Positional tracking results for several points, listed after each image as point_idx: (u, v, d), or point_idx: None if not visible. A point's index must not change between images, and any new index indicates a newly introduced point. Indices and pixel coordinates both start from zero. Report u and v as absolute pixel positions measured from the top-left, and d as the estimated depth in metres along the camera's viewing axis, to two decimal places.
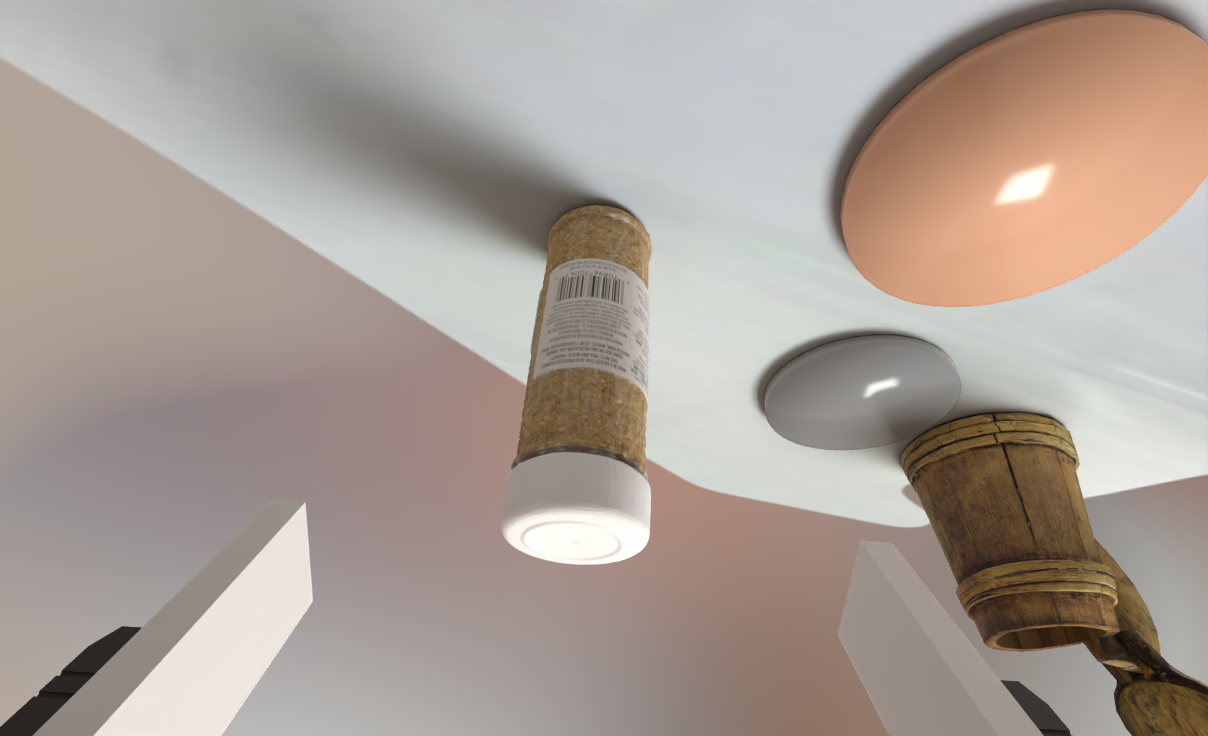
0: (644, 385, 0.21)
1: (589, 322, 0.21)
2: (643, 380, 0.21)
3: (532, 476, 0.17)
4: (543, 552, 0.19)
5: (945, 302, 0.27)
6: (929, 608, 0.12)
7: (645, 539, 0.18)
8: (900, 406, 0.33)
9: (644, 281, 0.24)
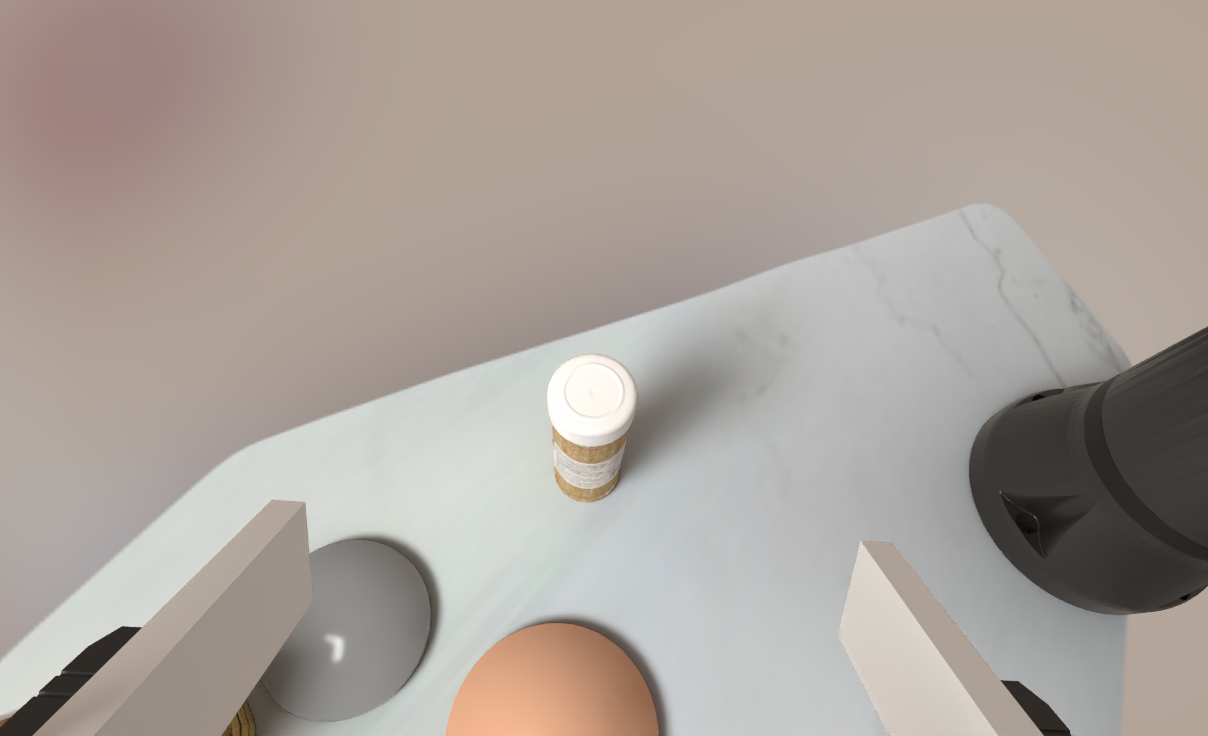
0: (591, 466, 0.34)
1: (623, 451, 0.36)
2: (593, 466, 0.34)
3: None
4: (582, 368, 0.31)
5: (460, 697, 0.35)
6: (929, 608, 0.12)
7: (581, 431, 0.29)
8: (323, 664, 0.35)
9: (589, 489, 0.38)
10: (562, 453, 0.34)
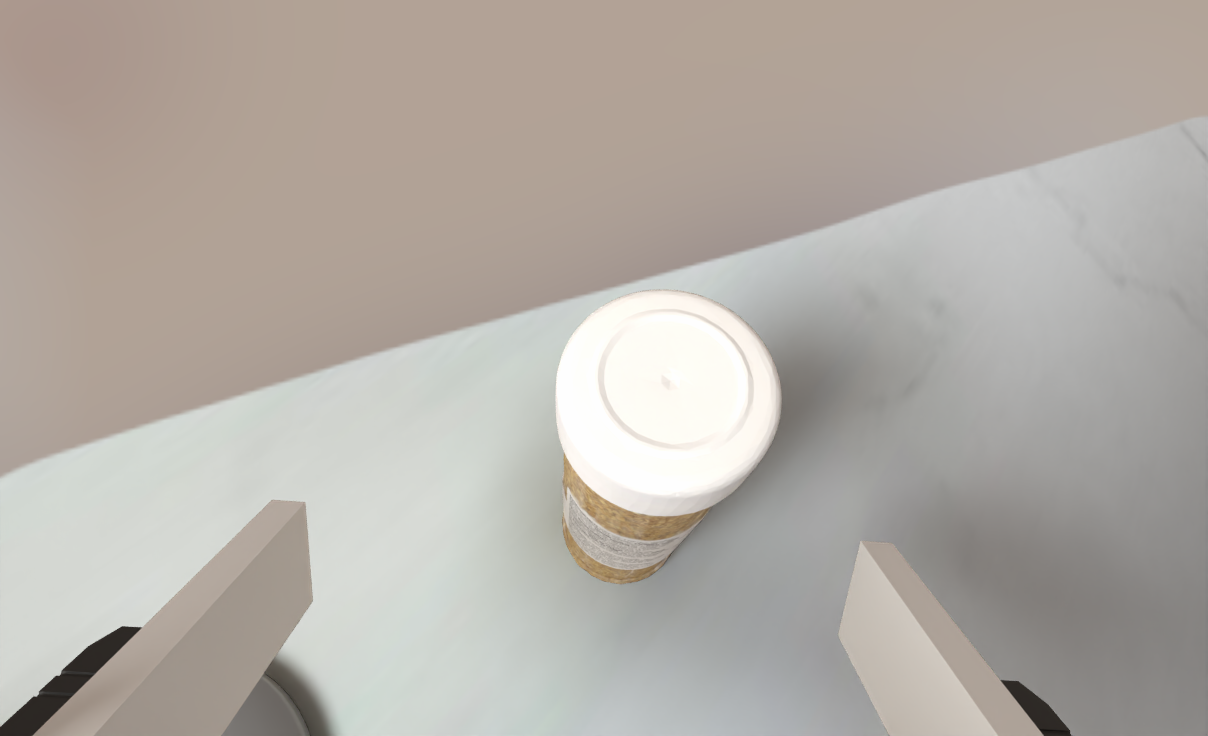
0: (646, 543, 0.16)
1: None
2: (650, 544, 0.16)
3: None
4: (643, 322, 0.12)
5: None
6: (929, 608, 0.12)
7: (646, 484, 0.11)
8: None
9: None
10: (584, 514, 0.16)
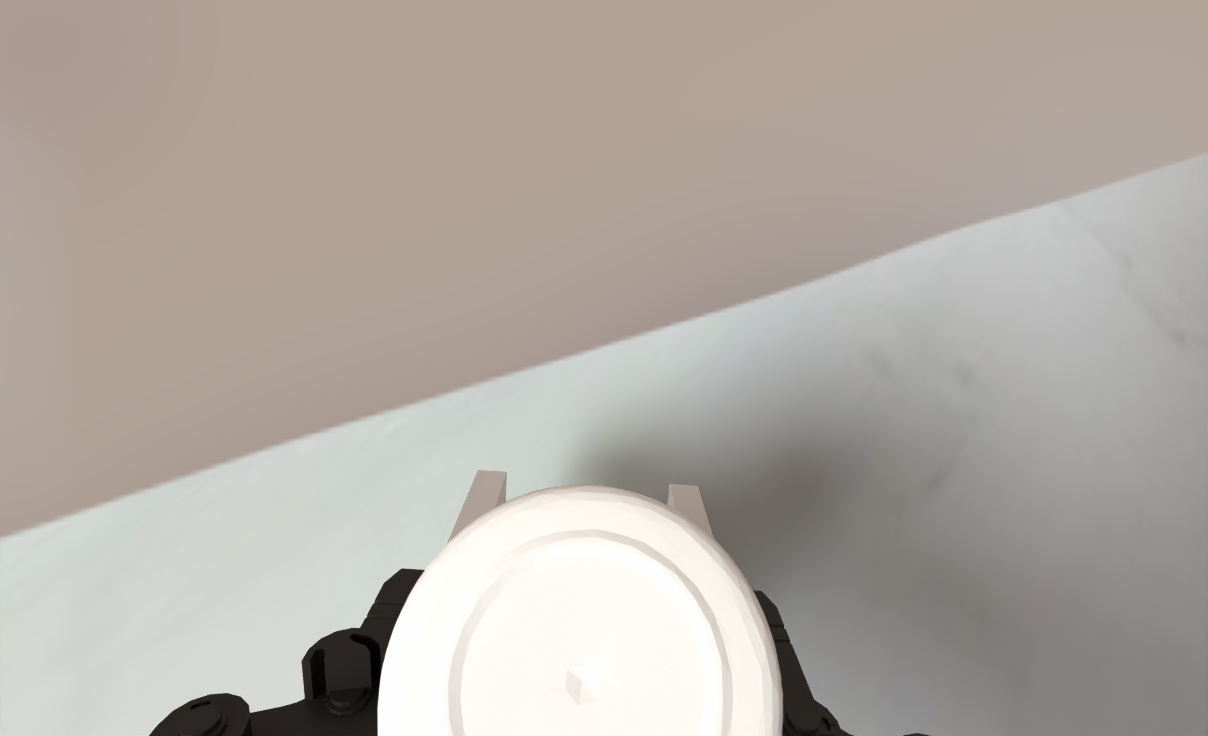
0: None
1: None
2: None
3: None
4: (541, 559, 0.07)
5: None
6: None
7: None
8: None
9: None
10: None
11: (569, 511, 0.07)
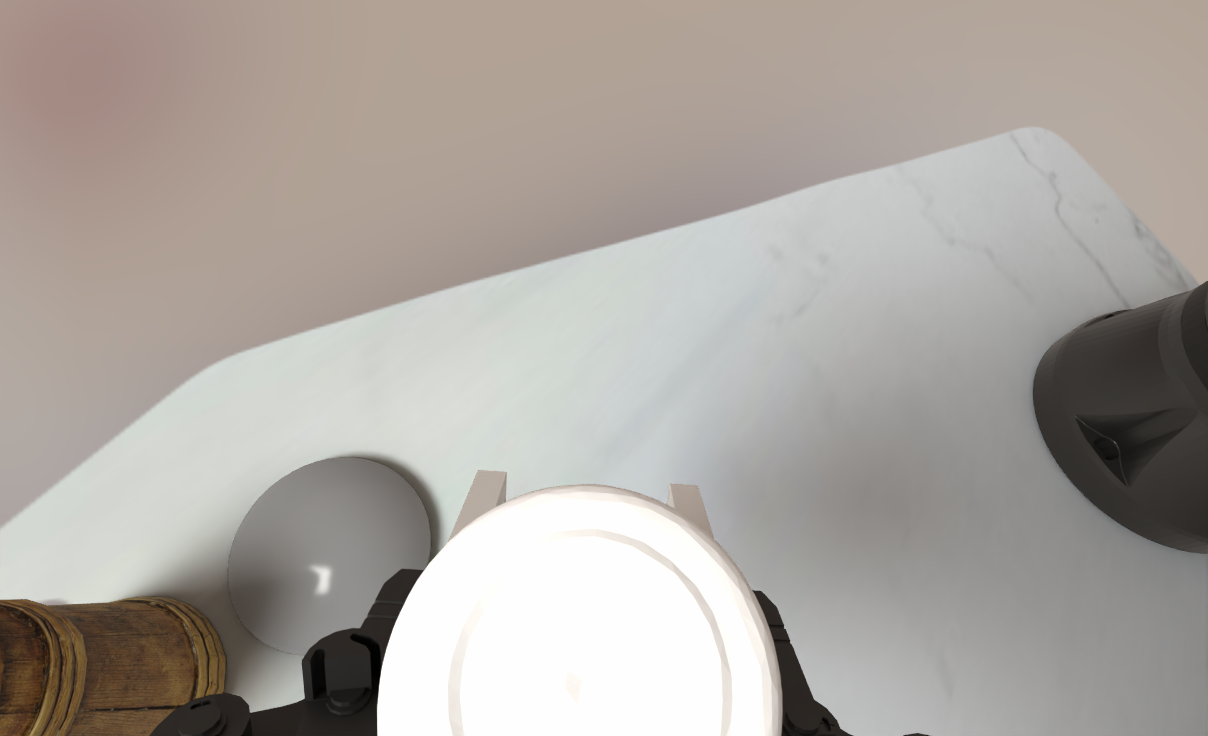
0: None
1: None
2: None
3: None
4: (540, 558, 0.07)
5: None
6: None
7: None
8: (306, 591, 0.31)
9: None
10: None
11: (569, 510, 0.07)
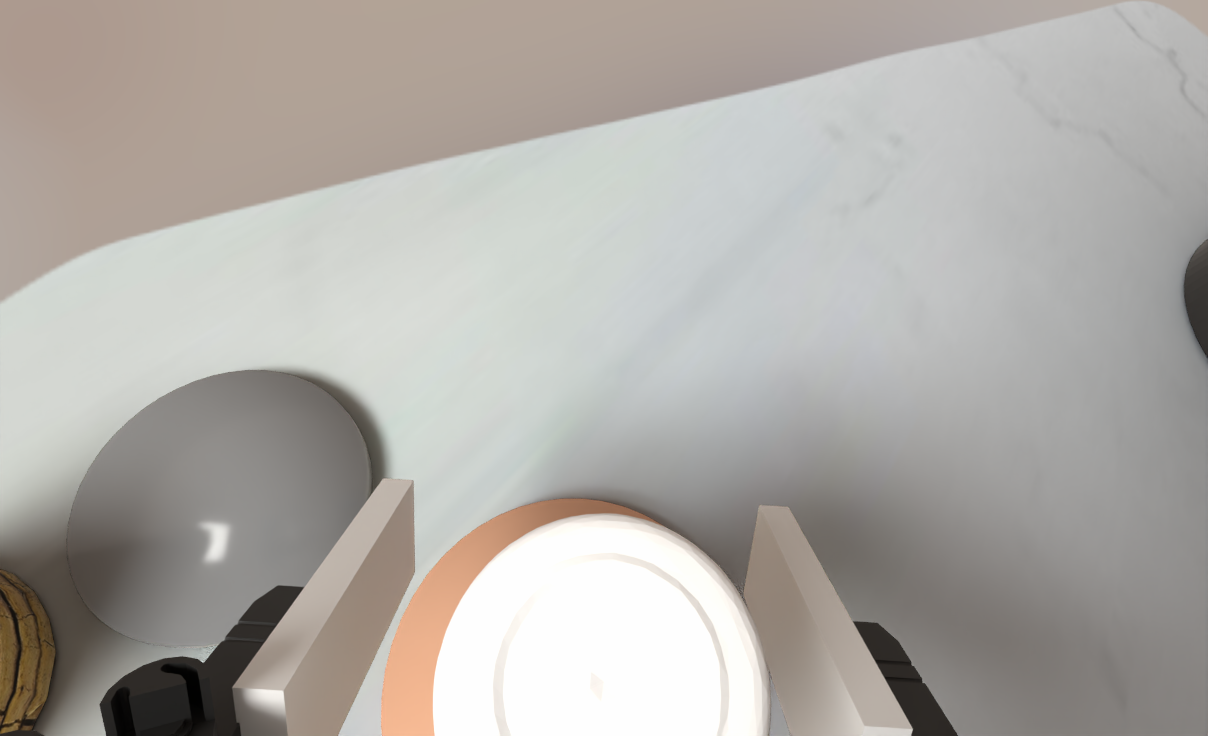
0: None
1: None
2: None
3: None
4: (567, 579, 0.08)
5: (414, 610, 0.20)
6: (805, 560, 0.13)
7: None
8: (182, 553, 0.21)
9: None
10: None
11: (590, 537, 0.09)
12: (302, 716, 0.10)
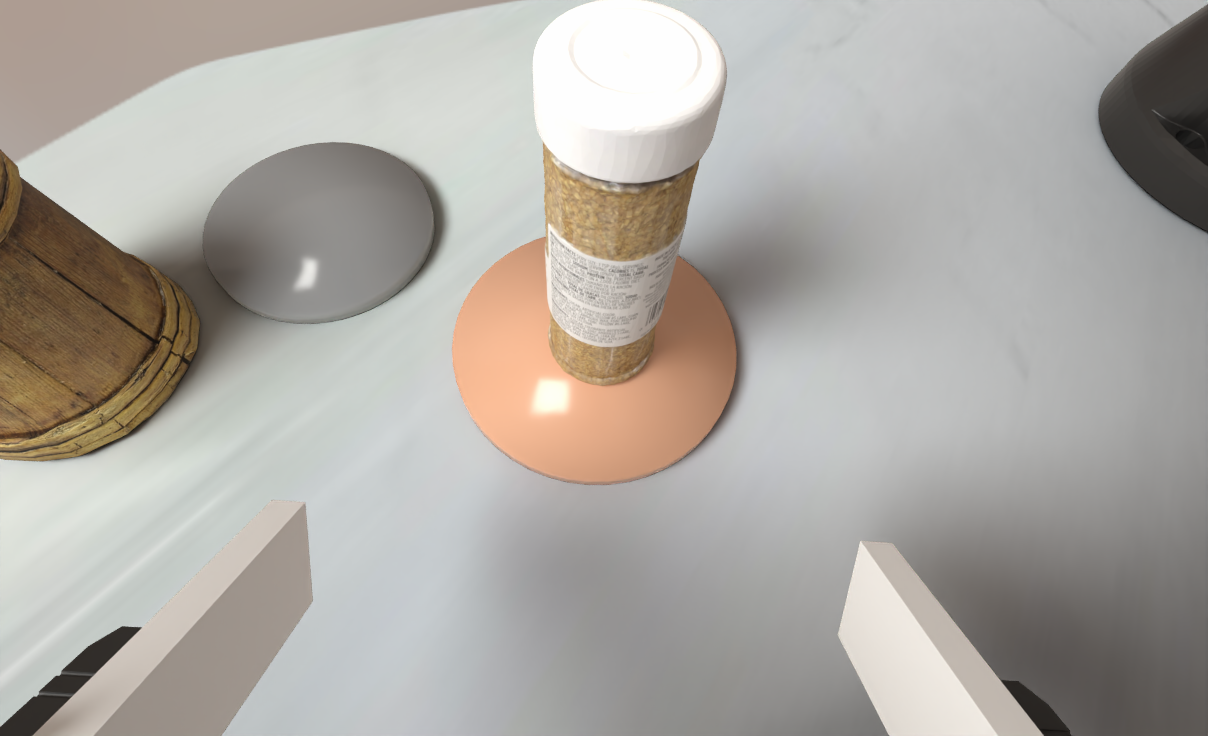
0: (619, 268, 0.18)
1: (673, 264, 0.20)
2: (622, 272, 0.18)
3: None
4: (608, 15, 0.14)
5: (473, 296, 0.26)
6: (929, 608, 0.12)
7: (610, 119, 0.13)
8: (292, 257, 0.27)
9: (609, 349, 0.22)
10: (563, 245, 0.18)
11: (620, 2, 0.15)
12: None
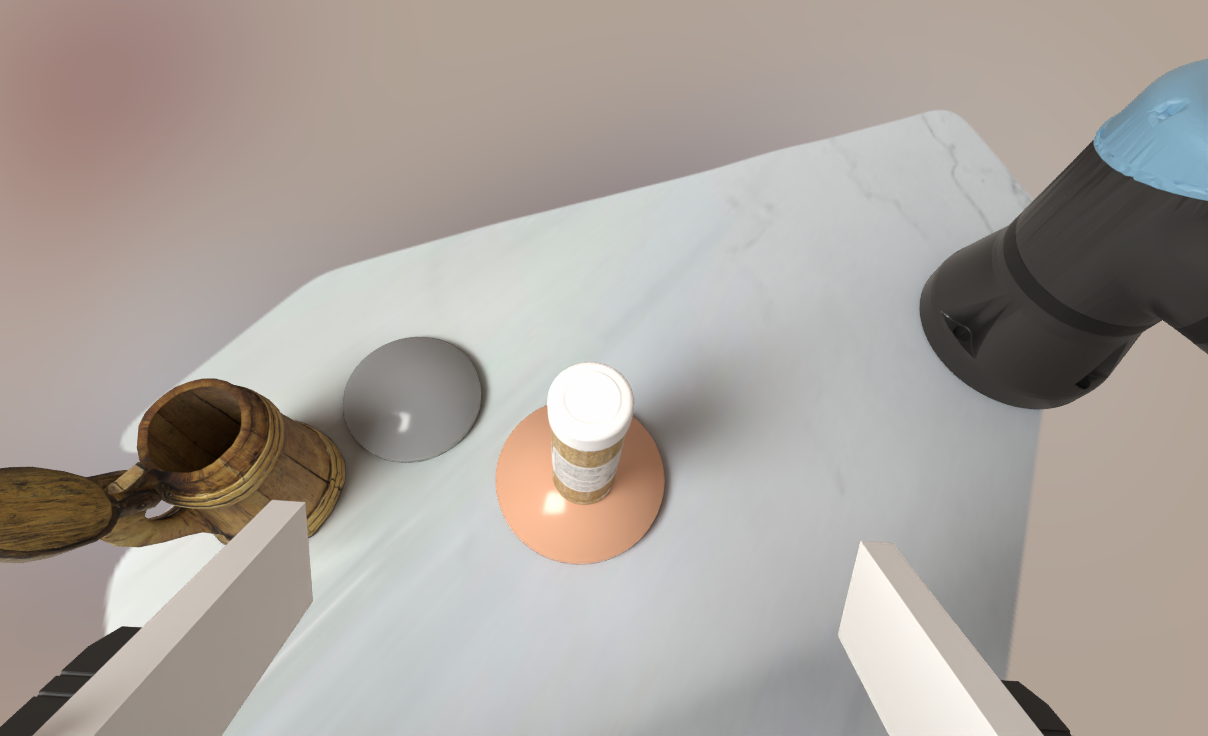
0: (588, 470, 0.35)
1: (619, 456, 0.37)
2: (590, 471, 0.35)
3: None
4: (581, 376, 0.32)
5: (507, 446, 0.44)
6: (929, 608, 0.12)
7: (580, 436, 0.30)
8: (397, 420, 0.44)
9: (586, 492, 0.40)
10: (560, 457, 0.35)
11: (587, 366, 0.32)
12: None
